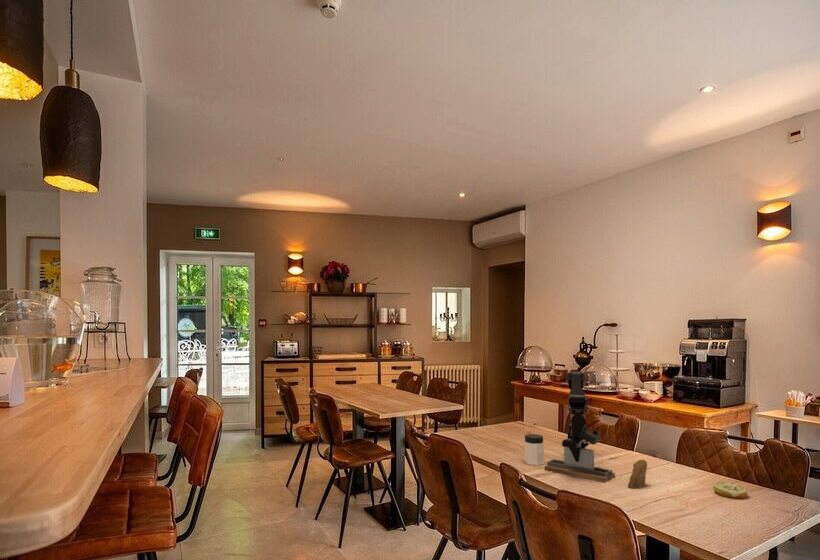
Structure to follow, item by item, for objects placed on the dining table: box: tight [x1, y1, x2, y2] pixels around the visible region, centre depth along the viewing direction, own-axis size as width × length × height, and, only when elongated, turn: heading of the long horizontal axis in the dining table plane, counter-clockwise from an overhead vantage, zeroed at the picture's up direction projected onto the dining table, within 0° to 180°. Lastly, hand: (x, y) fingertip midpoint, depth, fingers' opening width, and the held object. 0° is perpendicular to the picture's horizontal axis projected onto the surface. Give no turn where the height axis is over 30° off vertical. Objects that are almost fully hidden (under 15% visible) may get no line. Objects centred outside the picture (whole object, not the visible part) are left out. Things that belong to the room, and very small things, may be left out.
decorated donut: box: [712, 481, 748, 500], centre depth 193 cm, size 10×11×4 cm
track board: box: [544, 458, 616, 483], centre depth 219 cm, size 11×26×3 cm, turn 48°
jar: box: [523, 433, 545, 466], centre depth 236 cm, size 9×8×12 cm
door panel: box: [563, 447, 595, 470], centre depth 220 cm, size 2×12×8 cm, turn 48°
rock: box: [627, 459, 648, 489], centre depth 204 cm, size 11×9×10 cm
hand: (578, 461), depth 220 cm, fingers closed on door panel, 2 cm apart
